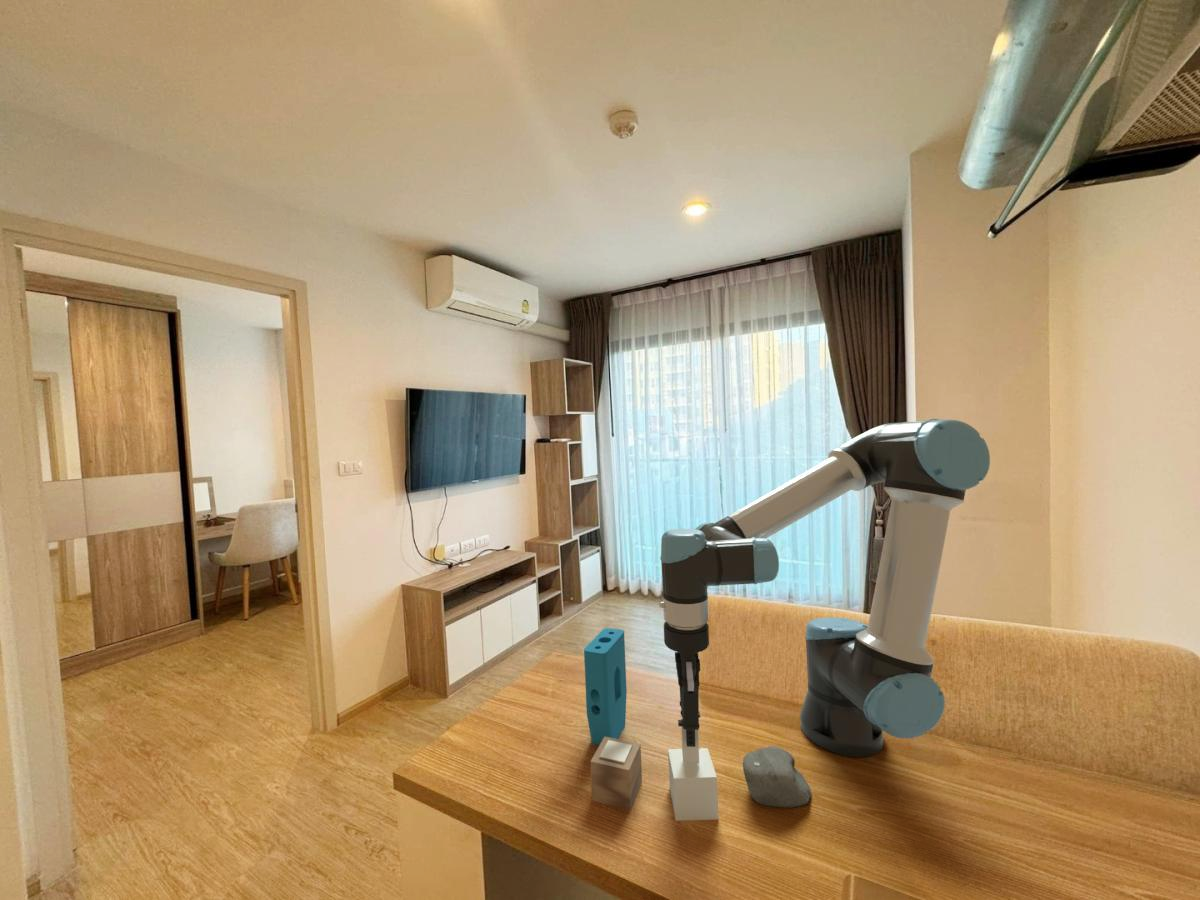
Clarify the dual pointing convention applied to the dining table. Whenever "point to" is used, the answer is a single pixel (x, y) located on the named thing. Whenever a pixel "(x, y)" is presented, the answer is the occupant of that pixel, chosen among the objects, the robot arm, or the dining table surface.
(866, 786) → the dining table surface
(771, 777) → the stone
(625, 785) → the marked block
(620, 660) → the block
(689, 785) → the plain block
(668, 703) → the dining table surface
